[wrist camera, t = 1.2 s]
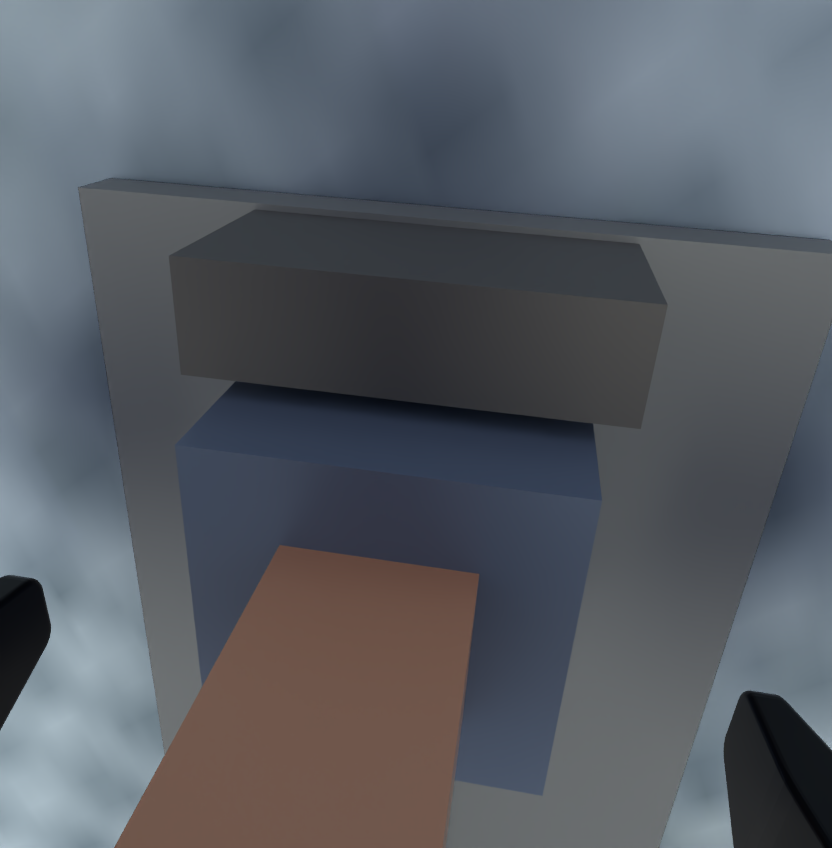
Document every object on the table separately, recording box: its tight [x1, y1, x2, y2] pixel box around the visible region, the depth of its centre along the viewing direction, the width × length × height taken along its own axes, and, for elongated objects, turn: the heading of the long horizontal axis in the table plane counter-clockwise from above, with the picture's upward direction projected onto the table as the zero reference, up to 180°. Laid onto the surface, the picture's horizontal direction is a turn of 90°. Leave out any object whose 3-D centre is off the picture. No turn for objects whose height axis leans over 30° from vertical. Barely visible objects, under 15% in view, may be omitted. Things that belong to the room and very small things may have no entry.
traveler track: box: [78, 178, 832, 848], centre depth 15 cm, size 22×12×5 cm, turn 177°
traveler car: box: [114, 381, 602, 848], centre depth 9 cm, size 5×5×8 cm
